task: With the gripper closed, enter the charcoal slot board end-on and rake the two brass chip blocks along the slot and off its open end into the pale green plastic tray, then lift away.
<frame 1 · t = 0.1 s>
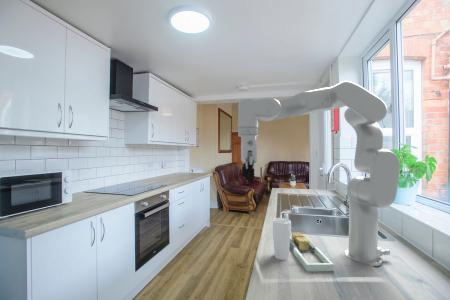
hand: (247, 178, 86), 31 cm above the worktop, fingers open, 9 cm apart
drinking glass: (281, 259, 87), on the worktop
slot board: (299, 249, 95), on the worktop
tray: (311, 263, 83), on the worktop
brass chip rear: (297, 243, 98), point 1 cm above the worktop, touching slot board
brass chip front: (301, 248, 93), point 1 cm above the worktop, touching slot board
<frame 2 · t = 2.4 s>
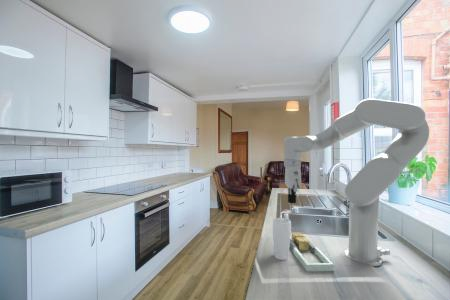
hand: (291, 202, 106), 17 cm above the worktop, fingers closed
nothing on the worktop moved.
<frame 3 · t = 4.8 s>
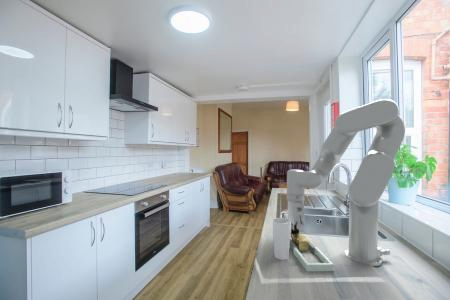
hand: (294, 238, 101), 2 cm above the worktop, fingers closed
brass chip rear: (297, 244, 97), point 1 cm above the worktop, touching gripper
everything else where it was.
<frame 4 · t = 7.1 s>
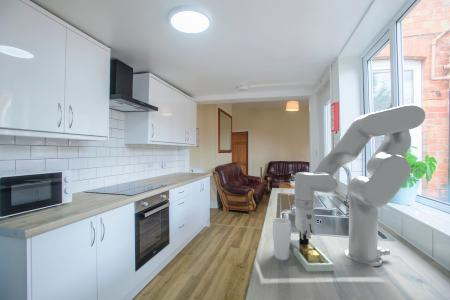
hand: (303, 248, 91), 2 cm above the worktop, fingers closed
brass chip rear: (306, 257, 87), point 1 cm above the worktop, touching brass chip front, gripper
brass chip front: (311, 263, 83), resting on tray, touching brass chip rear
everything else where it was.
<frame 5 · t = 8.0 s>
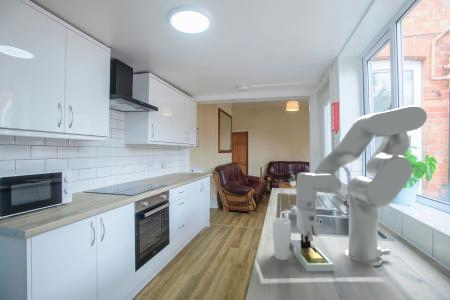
hand: (305, 250, 89), 2 cm above the worktop, fingers closed
brass chip rear: (307, 260, 85), resting on tray, touching brass chip front, gripper
brass chip front: (313, 266, 81), resting on tray, touching brass chip rear
everything else where it was.
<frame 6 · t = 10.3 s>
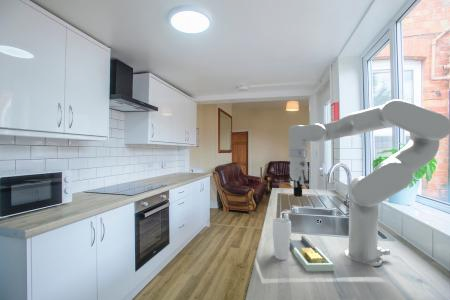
hand: (297, 196, 98), 22 cm above the worktop, fingers closed
brass chip rear: (307, 260, 85), resting on tray, touching brass chip front
everything else where it was.
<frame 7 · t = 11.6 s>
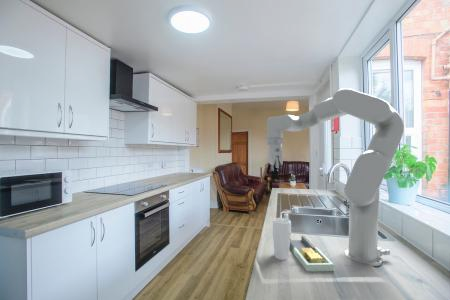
hand: (274, 178, 112), 27 cm above the worktop, fingers closed
nothing on the worktop moved.
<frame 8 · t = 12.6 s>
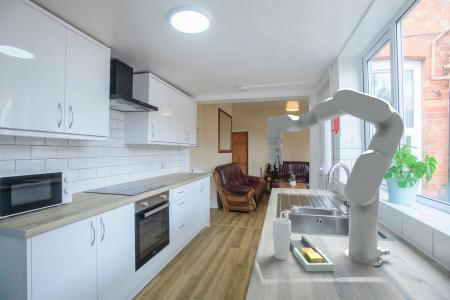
hand: (274, 178, 112), 27 cm above the worktop, fingers closed
nothing on the worktop moved.
at the end: brass chip front inside the target area on the tray (1.7 cm from its centre), point 0.4 cm above the tray's base; brass chip rear inside the target area on the tray (2.5 cm from its centre), point 0.4 cm above the tray's base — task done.
